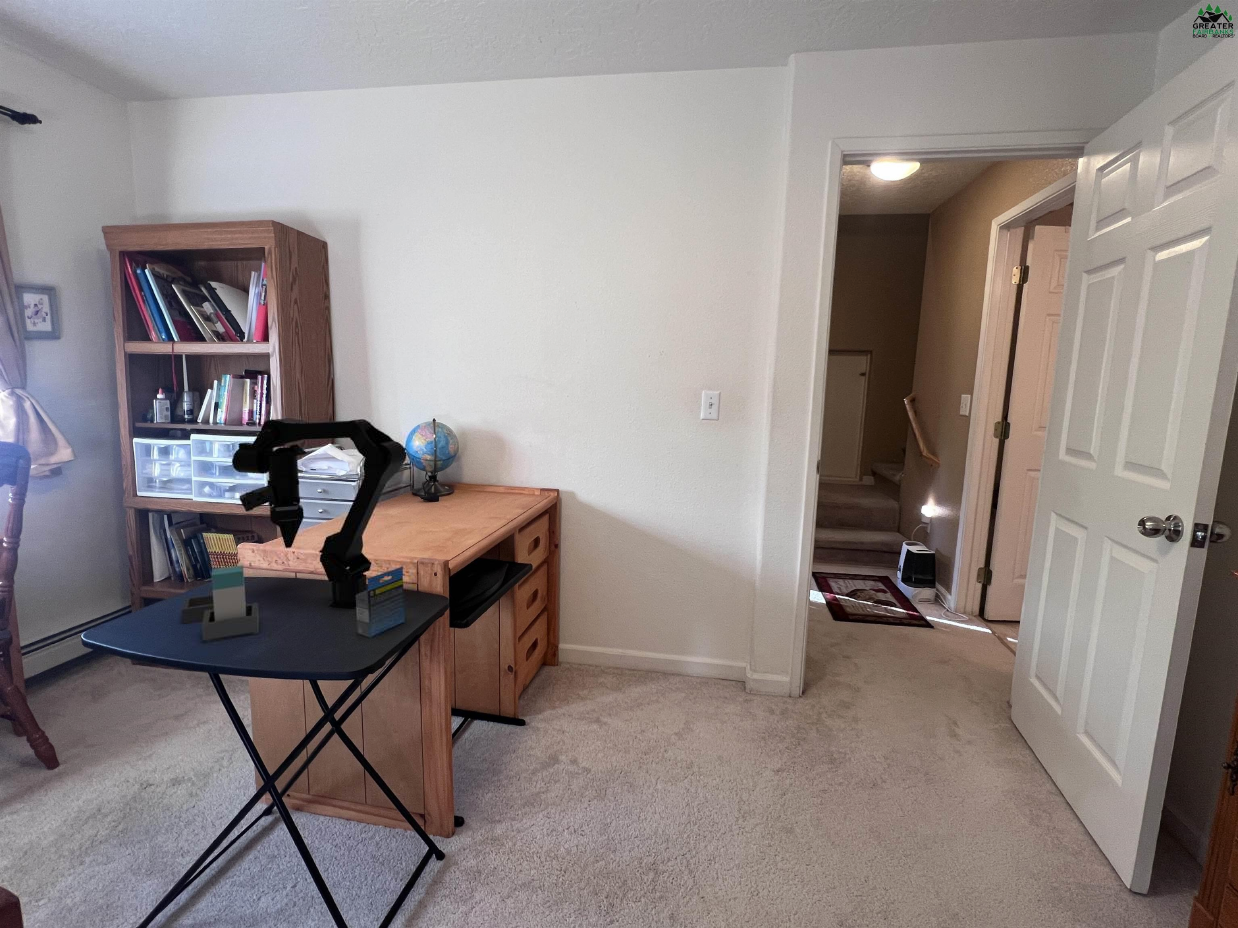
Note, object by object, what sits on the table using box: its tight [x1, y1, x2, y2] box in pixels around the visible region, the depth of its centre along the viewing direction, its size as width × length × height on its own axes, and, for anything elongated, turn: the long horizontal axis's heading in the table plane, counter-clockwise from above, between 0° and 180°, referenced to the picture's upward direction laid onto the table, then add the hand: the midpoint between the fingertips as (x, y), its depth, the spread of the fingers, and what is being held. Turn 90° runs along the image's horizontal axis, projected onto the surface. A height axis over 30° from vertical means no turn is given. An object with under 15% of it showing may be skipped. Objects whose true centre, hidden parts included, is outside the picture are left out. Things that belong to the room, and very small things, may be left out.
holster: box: [181, 593, 214, 624], centre depth 123 cm, size 8×7×3 cm
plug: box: [211, 565, 247, 621], centre depth 115 cm, size 5×4×12 cm
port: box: [201, 602, 260, 644], centre depth 115 cm, size 9×8×4 cm
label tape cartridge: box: [355, 566, 406, 638], centre depth 118 cm, size 9×4×12 cm, turn 152°
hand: (287, 542), depth 131 cm, fingers open, 9 cm apart
